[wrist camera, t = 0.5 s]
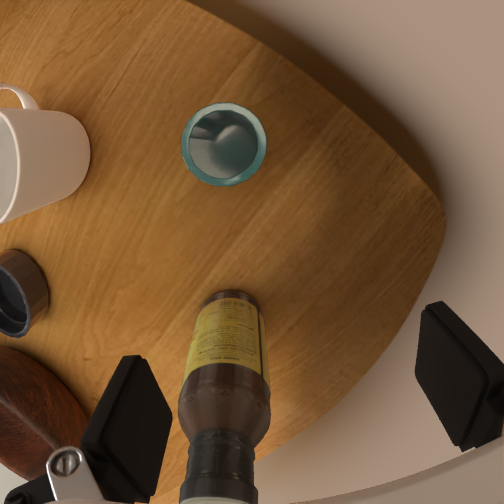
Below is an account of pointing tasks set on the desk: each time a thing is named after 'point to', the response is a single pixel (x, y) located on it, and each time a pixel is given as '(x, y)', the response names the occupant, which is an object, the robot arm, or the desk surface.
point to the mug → (38, 156)
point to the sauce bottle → (224, 400)
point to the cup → (223, 144)
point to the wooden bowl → (34, 415)
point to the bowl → (21, 293)
